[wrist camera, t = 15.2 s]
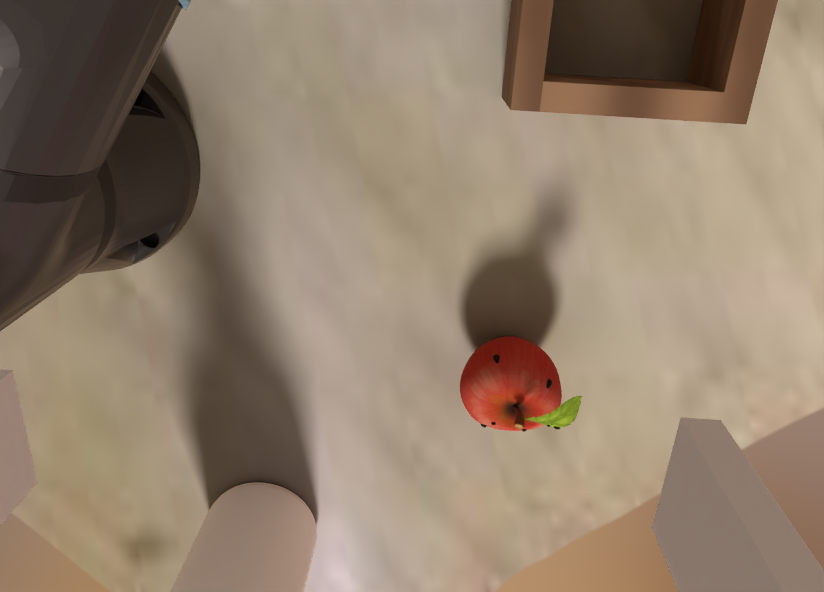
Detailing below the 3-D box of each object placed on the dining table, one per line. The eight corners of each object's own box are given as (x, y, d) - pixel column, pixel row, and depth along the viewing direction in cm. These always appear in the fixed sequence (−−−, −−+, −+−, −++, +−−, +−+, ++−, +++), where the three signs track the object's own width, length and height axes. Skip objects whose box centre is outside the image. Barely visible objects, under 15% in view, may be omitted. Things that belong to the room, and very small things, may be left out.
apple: (511, 410, 51) (526, 497, 42) (441, 365, 49) (441, 444, 40) (576, 341, 48) (607, 417, 39) (504, 291, 47) (519, 357, 38)
